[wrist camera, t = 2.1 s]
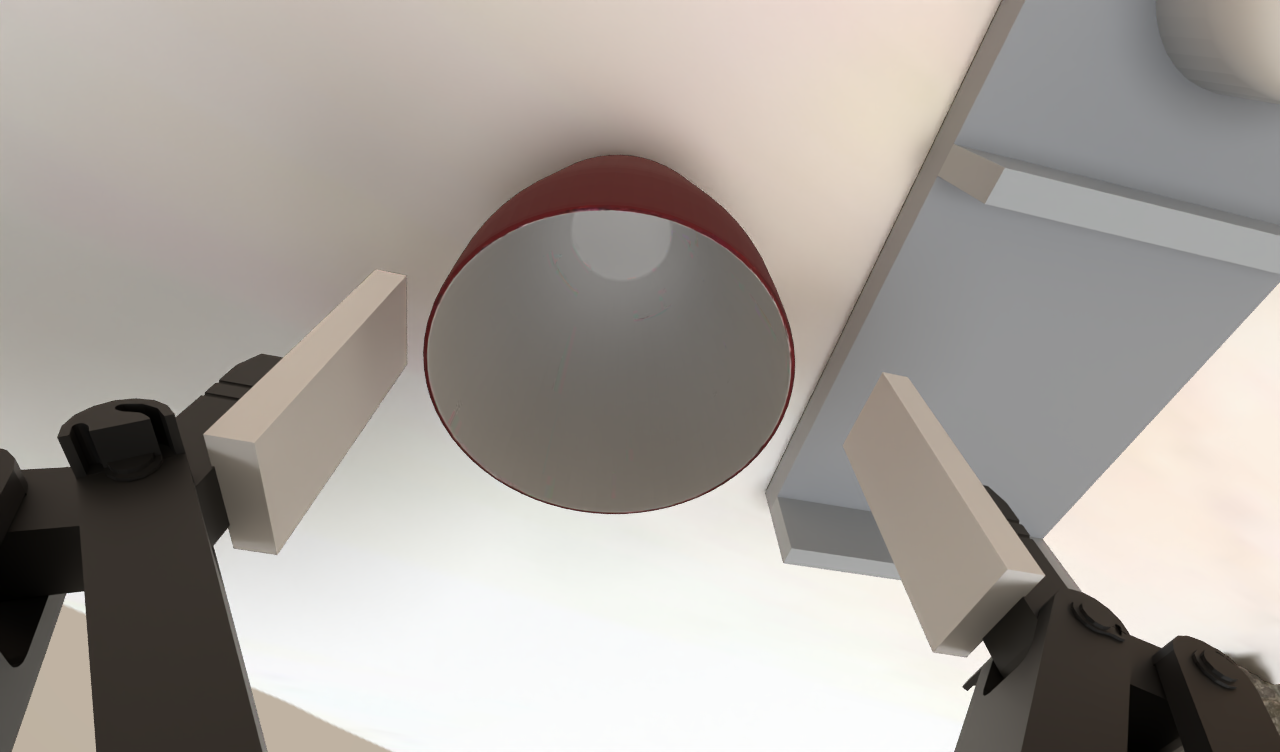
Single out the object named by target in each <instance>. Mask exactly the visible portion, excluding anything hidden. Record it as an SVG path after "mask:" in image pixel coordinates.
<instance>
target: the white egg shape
mask: <svg viewBox="0 0 1280 752" xmlns="http://www.w3.org/2000/svg"><path fill="white" fill-rule="evenodd" d="M1156 17H1157V22H1158V27H1159V33H1160V37H1161V39H1162V42H1163V45H1164V47H1165V50H1166V53H1167V54H1168V56H1169V57H1170V59H1171V61H1172V62H1173V64H1174V65H1175V67H1176V68H1177V69H1178V70H1179V71H1180V72H1181V73H1182V74H1183V75H1184V76H1185V77H1186V78H1187V79H1188V80H1190V81H1191V82H1193V83H1195V84H1196V85H1198V86H1199V87H1201V88H1203V89H1206V90H1208V91H1211V92H1214V93H1216V94H1221V95H1227V96H1232V97H1238V98H1244V99H1250V100H1256V101H1262V102H1268V103H1274V104H1280V0H1156Z"/></svg>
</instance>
